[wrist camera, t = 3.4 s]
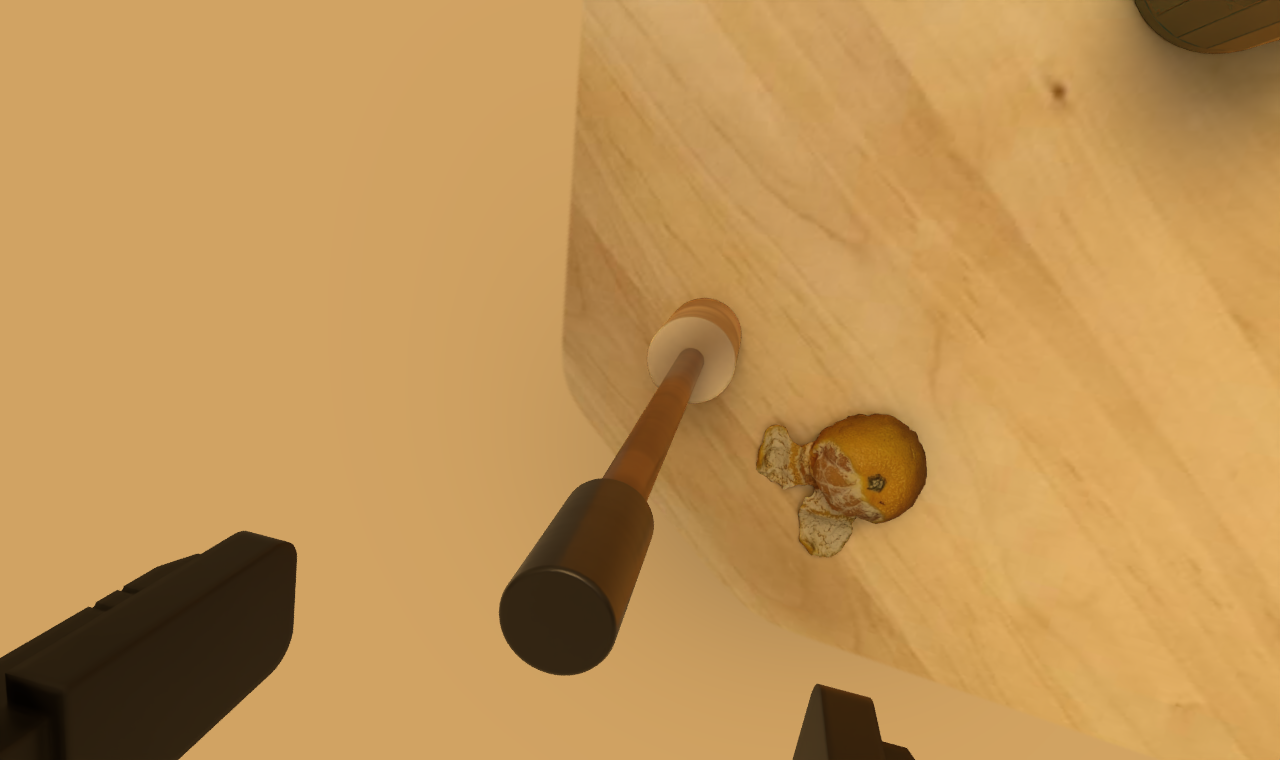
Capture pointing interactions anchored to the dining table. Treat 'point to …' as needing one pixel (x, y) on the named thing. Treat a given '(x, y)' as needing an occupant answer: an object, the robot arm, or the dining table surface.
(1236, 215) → the dining table surface
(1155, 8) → the cup
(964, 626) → the dining table surface
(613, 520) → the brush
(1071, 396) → the dining table surface
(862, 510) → the fruit
